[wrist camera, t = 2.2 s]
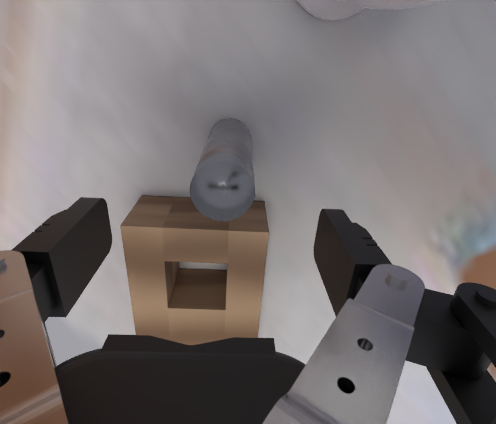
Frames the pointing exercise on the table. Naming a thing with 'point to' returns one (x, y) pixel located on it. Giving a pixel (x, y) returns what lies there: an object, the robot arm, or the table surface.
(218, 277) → the hole block
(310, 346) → the table surface
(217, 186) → the peg
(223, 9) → the table surface
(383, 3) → the beer glass
